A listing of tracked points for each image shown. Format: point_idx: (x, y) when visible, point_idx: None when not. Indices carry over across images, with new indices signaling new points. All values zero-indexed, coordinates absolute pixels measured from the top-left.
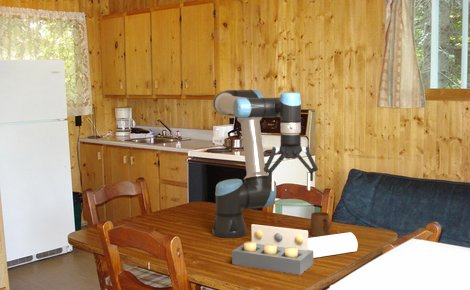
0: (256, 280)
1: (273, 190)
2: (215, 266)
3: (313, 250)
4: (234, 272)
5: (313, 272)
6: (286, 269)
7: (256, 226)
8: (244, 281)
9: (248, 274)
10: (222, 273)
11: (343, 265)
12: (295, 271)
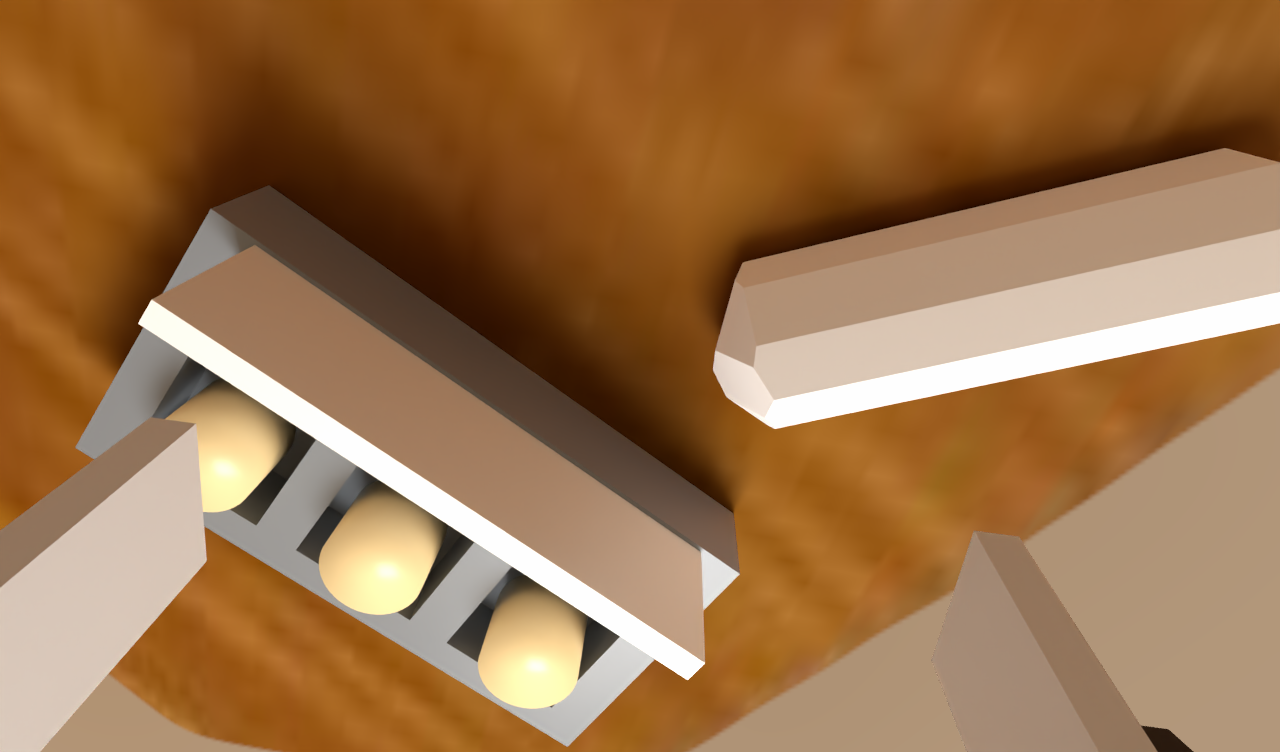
0: (303, 695)
1: (191, 565)
2: (25, 419)
3: (790, 425)
4: None
5: None
6: None
7: (204, 356)
8: (233, 695)
9: (259, 602)
10: None
11: (930, 577)
12: None
